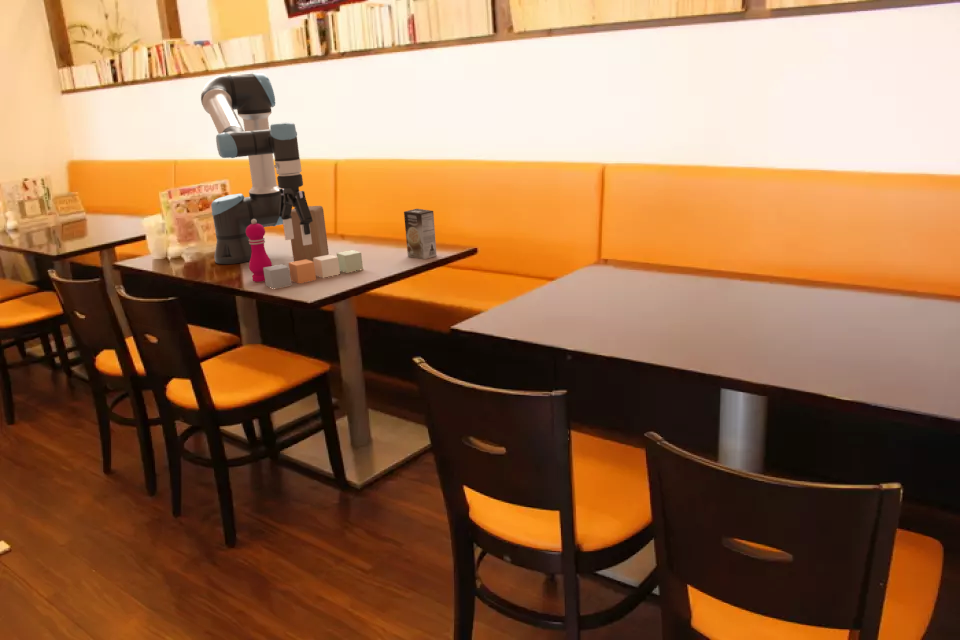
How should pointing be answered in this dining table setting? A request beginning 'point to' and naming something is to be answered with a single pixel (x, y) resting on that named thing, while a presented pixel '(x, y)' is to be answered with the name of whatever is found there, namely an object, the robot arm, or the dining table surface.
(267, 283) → the grey cube
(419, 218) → the coffee box
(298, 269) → the orange cube
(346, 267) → the sage cube
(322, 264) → the cream cube
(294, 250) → the wooden block
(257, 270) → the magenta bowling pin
